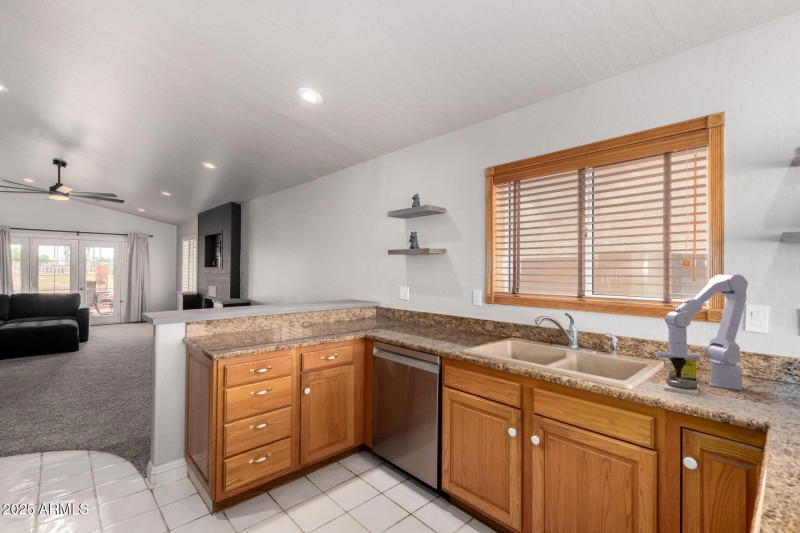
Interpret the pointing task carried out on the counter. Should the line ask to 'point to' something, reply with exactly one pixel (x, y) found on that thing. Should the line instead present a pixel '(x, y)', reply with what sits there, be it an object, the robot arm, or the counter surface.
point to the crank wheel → (680, 381)
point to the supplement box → (689, 369)
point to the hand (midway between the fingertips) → (677, 377)
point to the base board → (681, 389)
